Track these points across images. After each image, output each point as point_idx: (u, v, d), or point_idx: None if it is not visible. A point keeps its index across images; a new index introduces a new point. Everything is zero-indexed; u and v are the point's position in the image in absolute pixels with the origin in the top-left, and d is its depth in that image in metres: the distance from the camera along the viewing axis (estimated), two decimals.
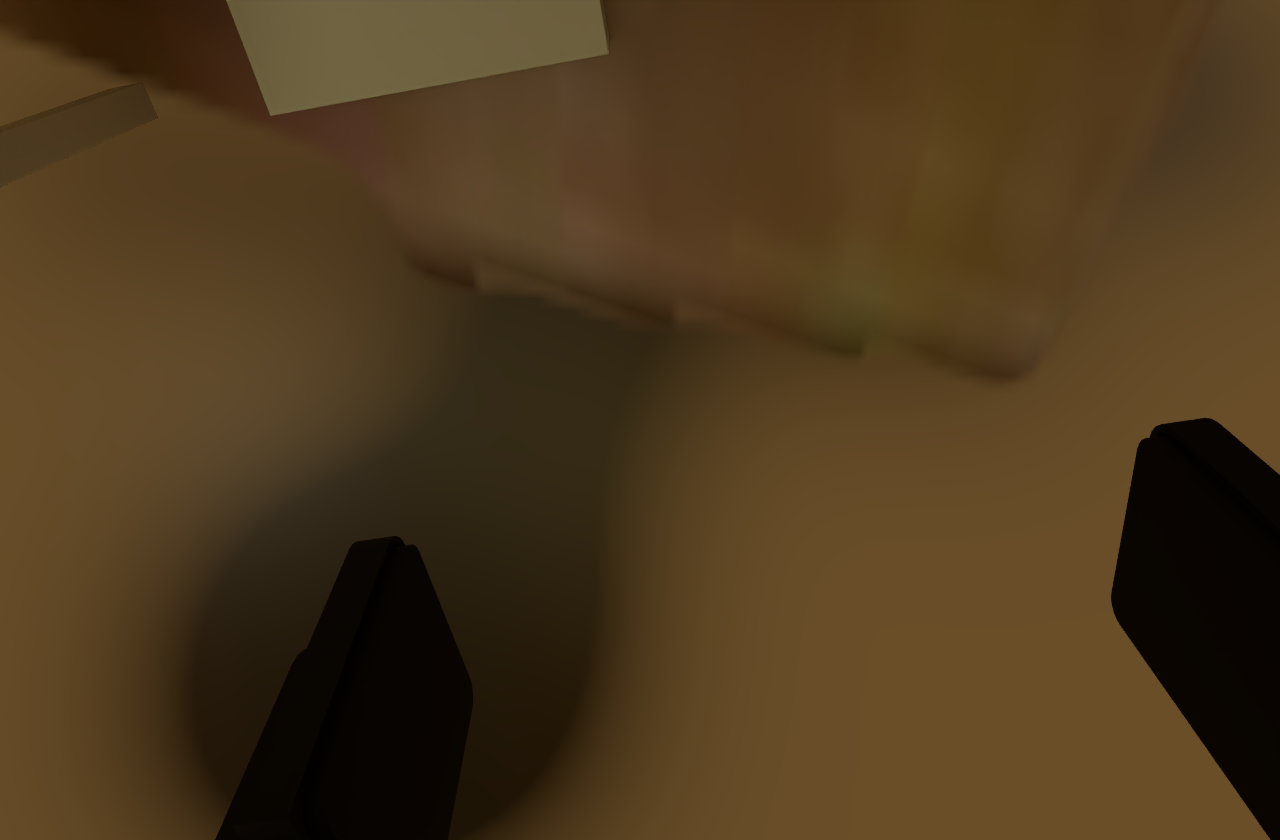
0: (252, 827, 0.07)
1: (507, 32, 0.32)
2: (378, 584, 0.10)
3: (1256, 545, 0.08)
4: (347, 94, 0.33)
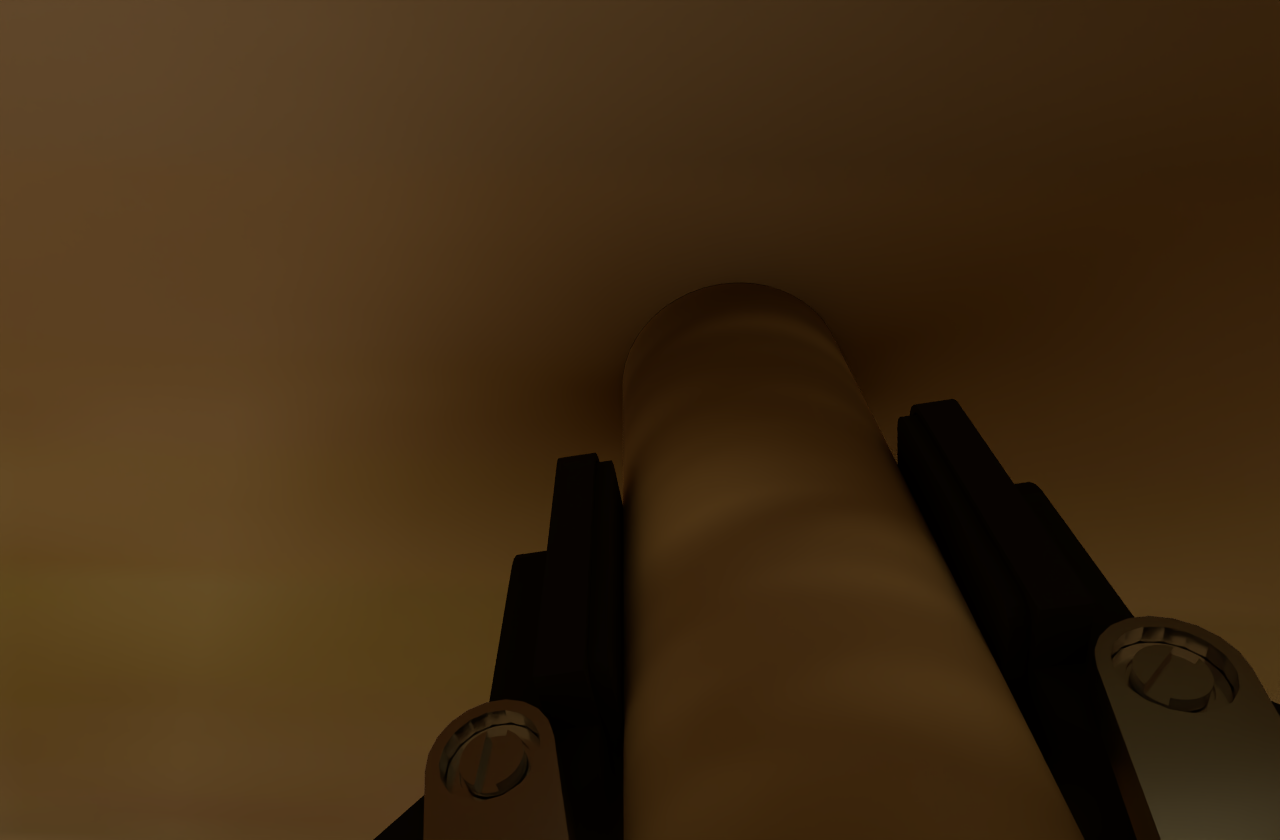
0: (550, 679, 0.08)
1: None
2: (595, 491, 0.10)
3: (951, 506, 0.09)
4: None
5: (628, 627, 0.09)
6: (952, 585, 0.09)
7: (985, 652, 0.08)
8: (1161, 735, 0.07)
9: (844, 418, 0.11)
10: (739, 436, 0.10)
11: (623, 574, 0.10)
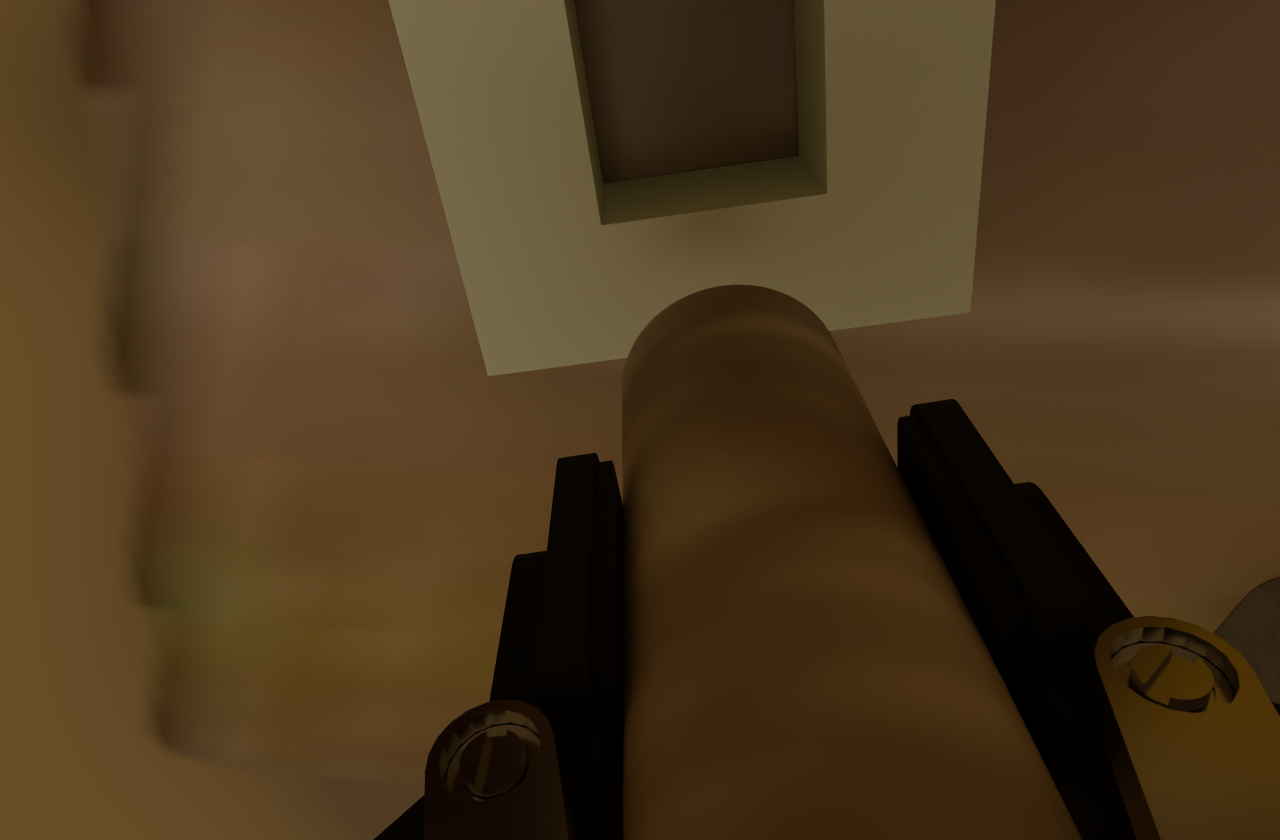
0: (550, 679, 0.08)
1: (507, 247, 0.22)
2: (595, 491, 0.10)
3: (951, 506, 0.09)
4: None
5: (628, 629, 0.09)
6: (951, 587, 0.09)
7: (984, 654, 0.08)
8: (1160, 735, 0.07)
9: (844, 420, 0.11)
10: (739, 438, 0.10)
11: (623, 576, 0.11)
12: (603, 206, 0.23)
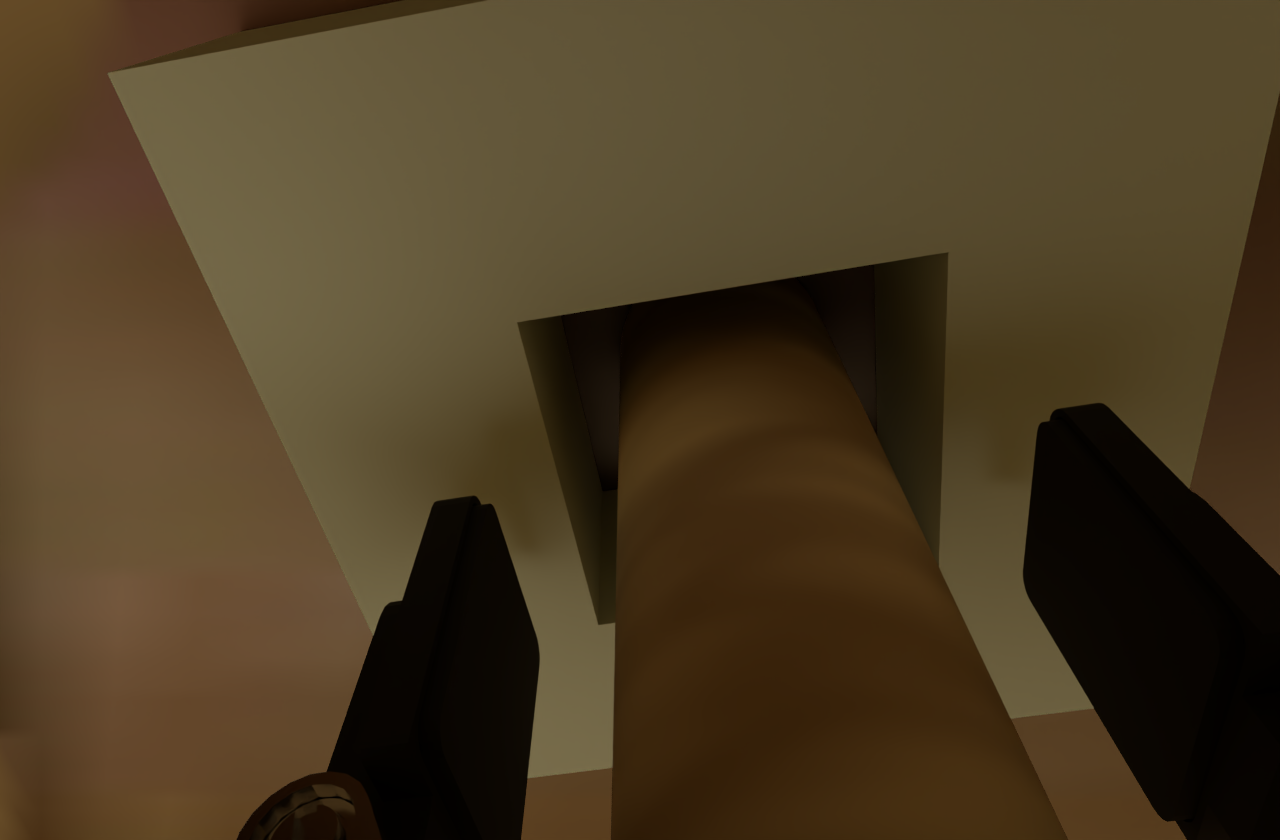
0: (374, 751, 0.08)
1: None
2: (464, 538, 0.10)
3: (1125, 518, 0.09)
4: (245, 321, 0.12)
5: (620, 541, 0.11)
6: (902, 501, 0.10)
7: (926, 552, 0.09)
8: None
9: (816, 365, 0.12)
10: (721, 379, 0.11)
11: None
12: (602, 562, 0.16)
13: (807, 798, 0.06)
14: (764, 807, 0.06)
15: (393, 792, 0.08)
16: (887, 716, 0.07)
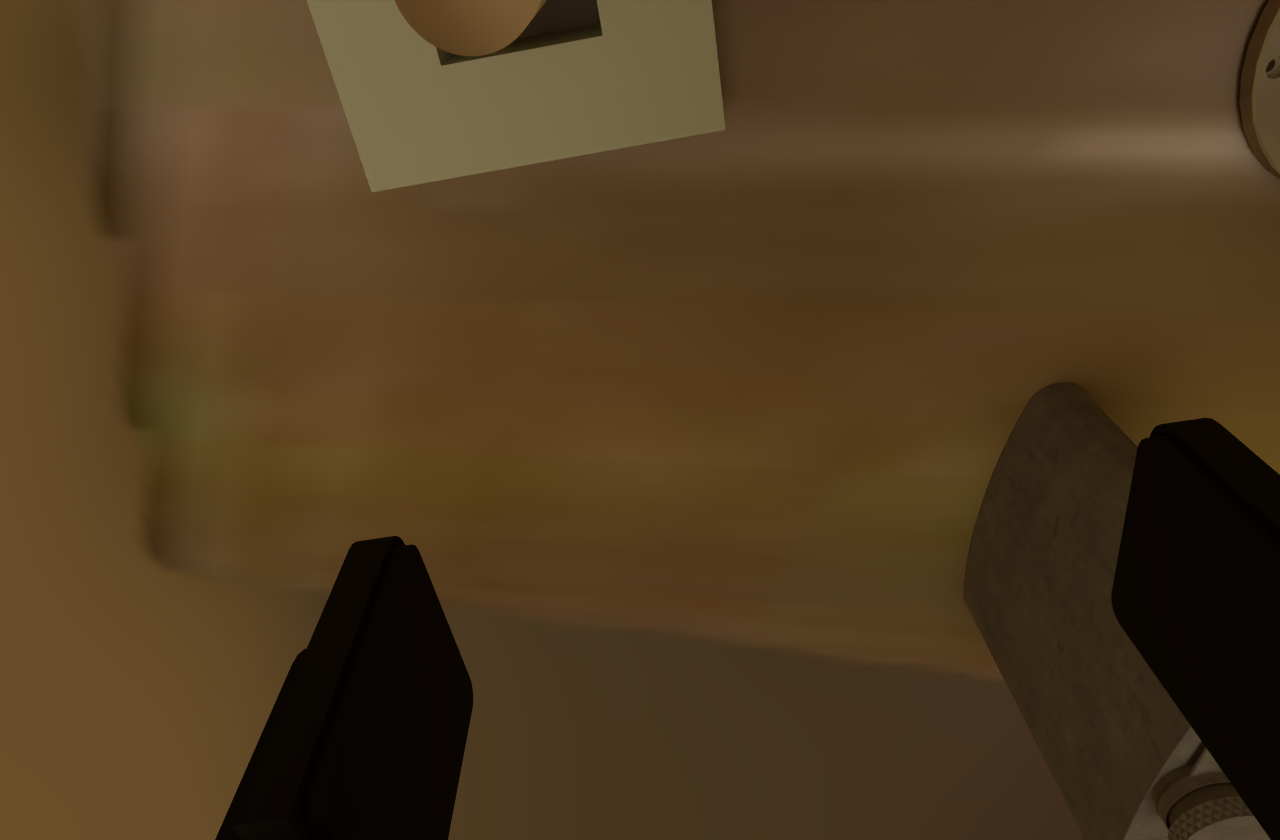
0: (252, 827, 0.07)
1: (375, 85, 0.30)
2: (378, 584, 0.10)
3: (1257, 545, 0.08)
4: None
5: None
6: None
7: None
8: None
9: None
10: None
11: None
12: (450, 58, 0.32)
13: None
14: None
15: None
16: None
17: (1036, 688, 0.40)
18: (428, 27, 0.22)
